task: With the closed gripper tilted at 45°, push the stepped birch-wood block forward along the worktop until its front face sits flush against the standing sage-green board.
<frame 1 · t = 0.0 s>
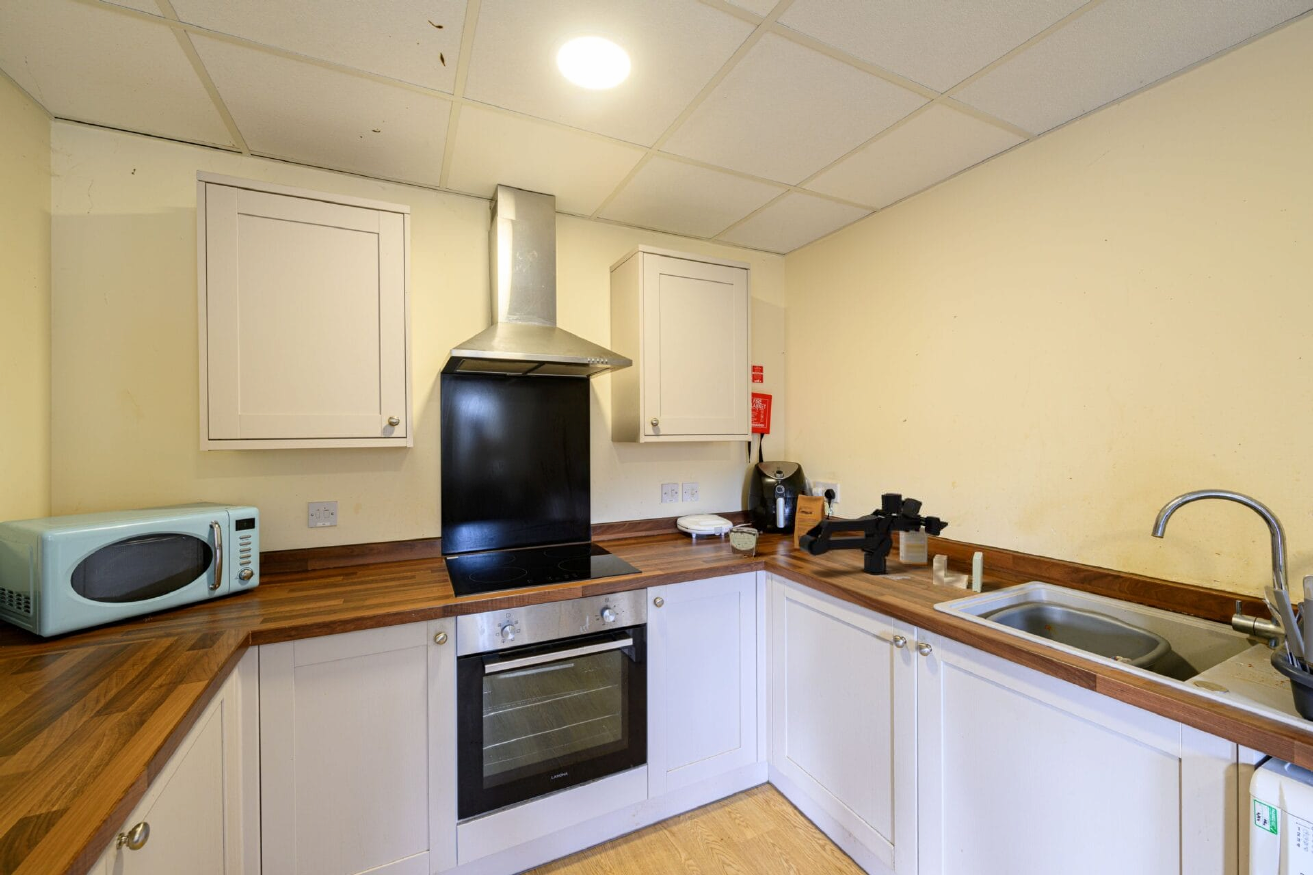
hand: (937, 521, 186), 17 cm above the worktop, tool horizontal, fingers open, 9 cm apart
food container: (745, 554, 206), on the worktop
stepped block: (950, 583, 168), on the worktop
supplement box: (913, 563, 194), on the worktop
coffee package: (809, 548, 217), on the worktop
board: (977, 587, 164), on the worktop
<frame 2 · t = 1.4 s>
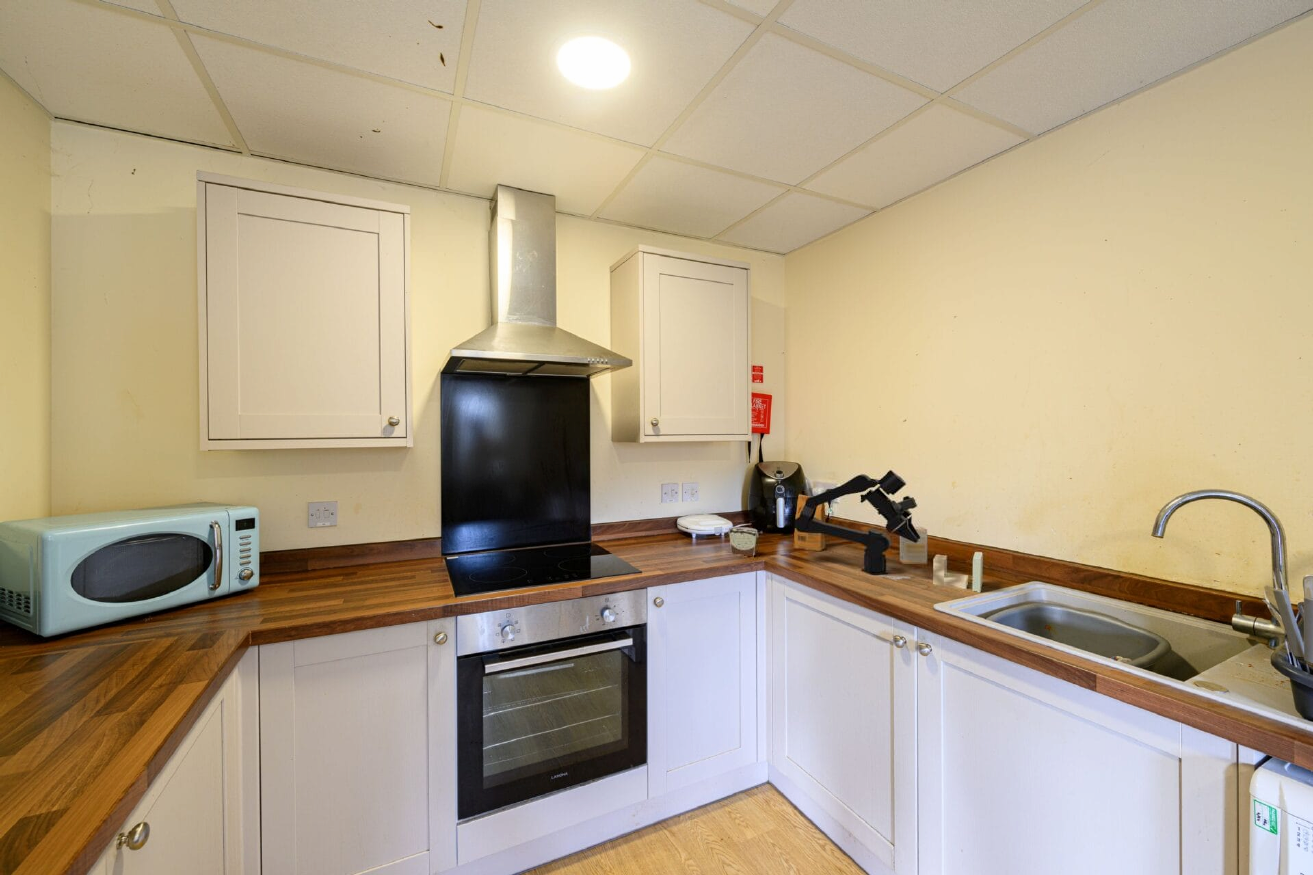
hand: (918, 540, 173), 13 cm above the worktop, tool tilted 45°, fingers open, 6 cm apart
nothing on the worktop moved.
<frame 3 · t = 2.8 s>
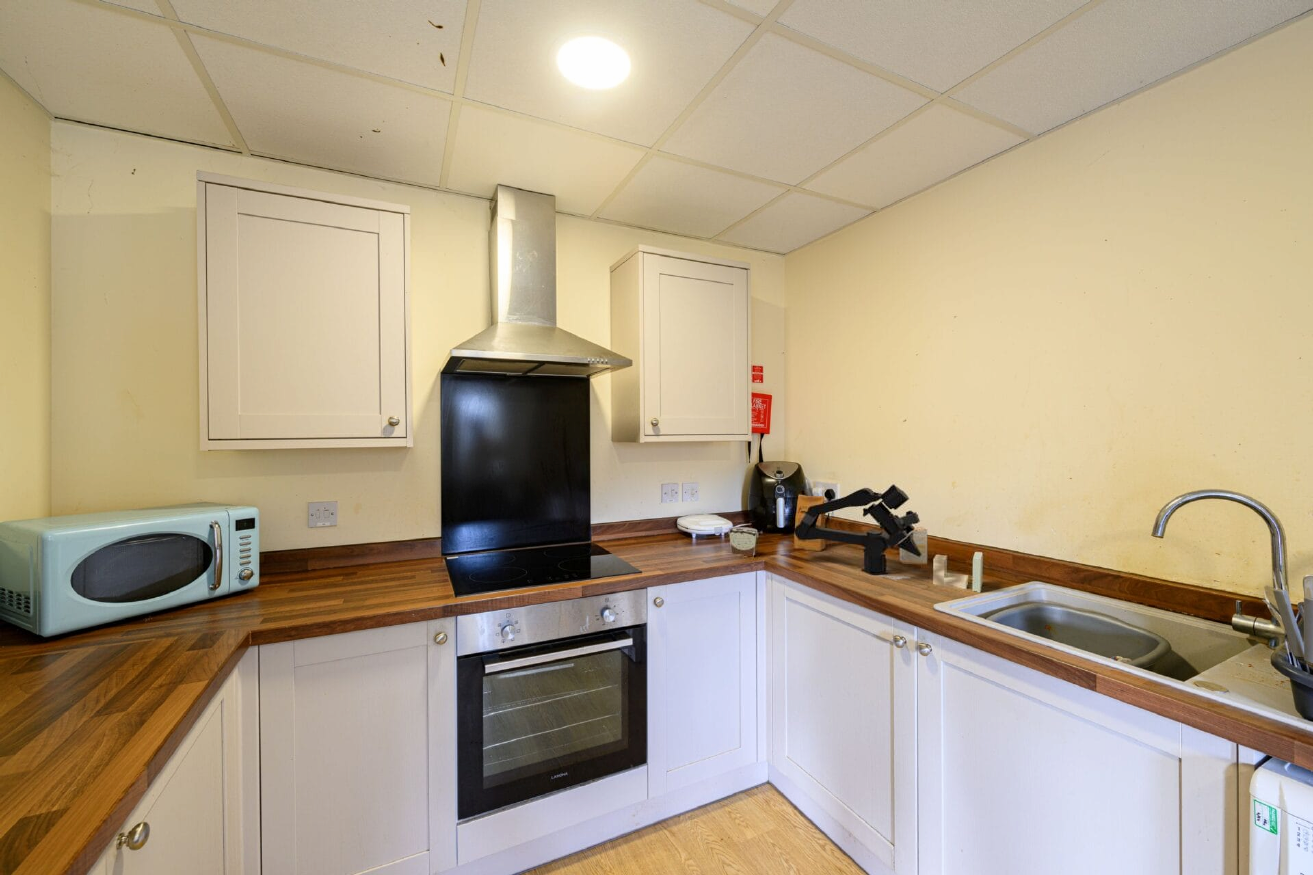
hand: (920, 555, 173), 8 cm above the worktop, tool tilted 45°, fingers closed
nothing on the worktop moved.
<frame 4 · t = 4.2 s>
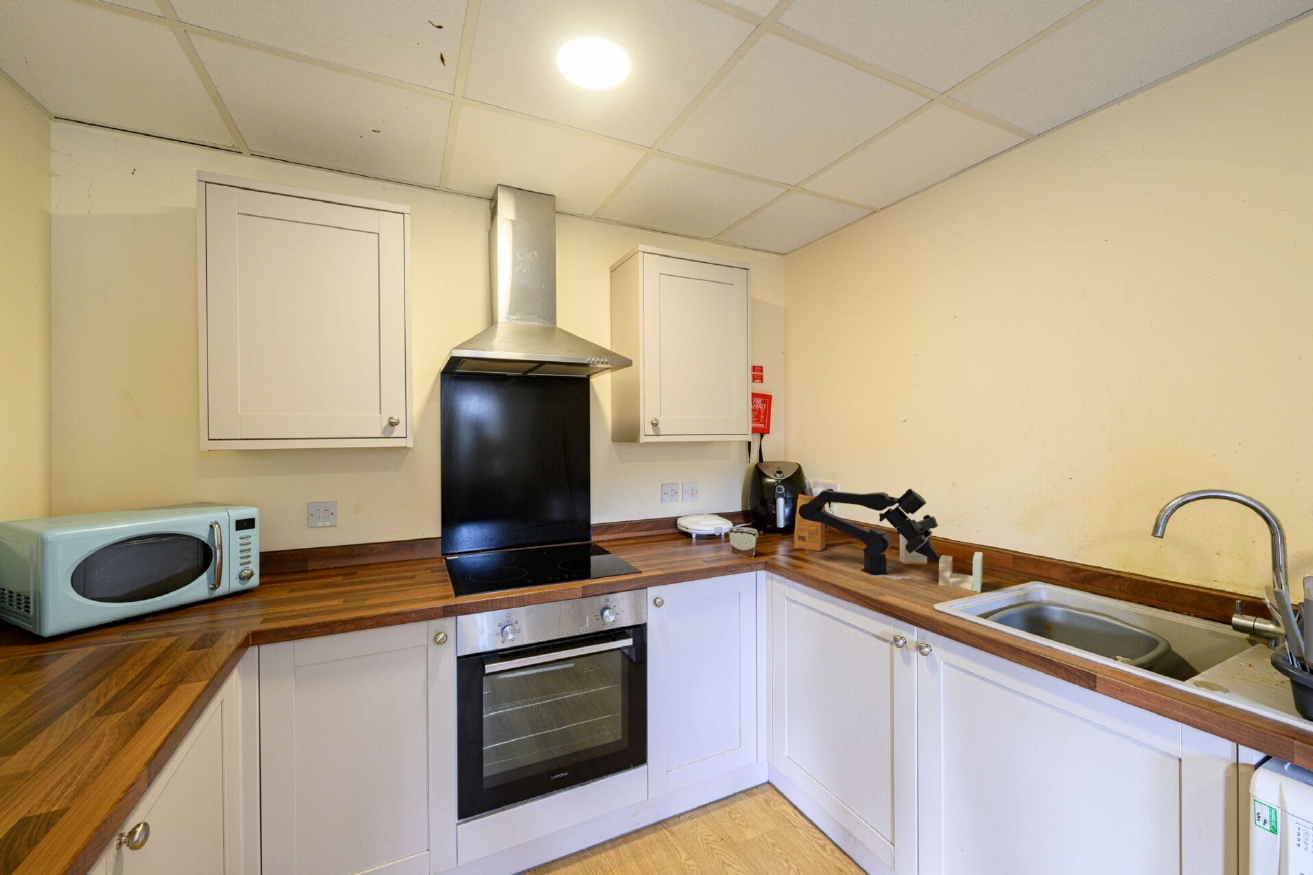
hand: (939, 560, 169), 7 cm above the worktop, tool tilted 45°, fingers closed, pressing on stepped block
stepped block: (956, 584, 167), on the worktop, touching gripper
everything else where it was.
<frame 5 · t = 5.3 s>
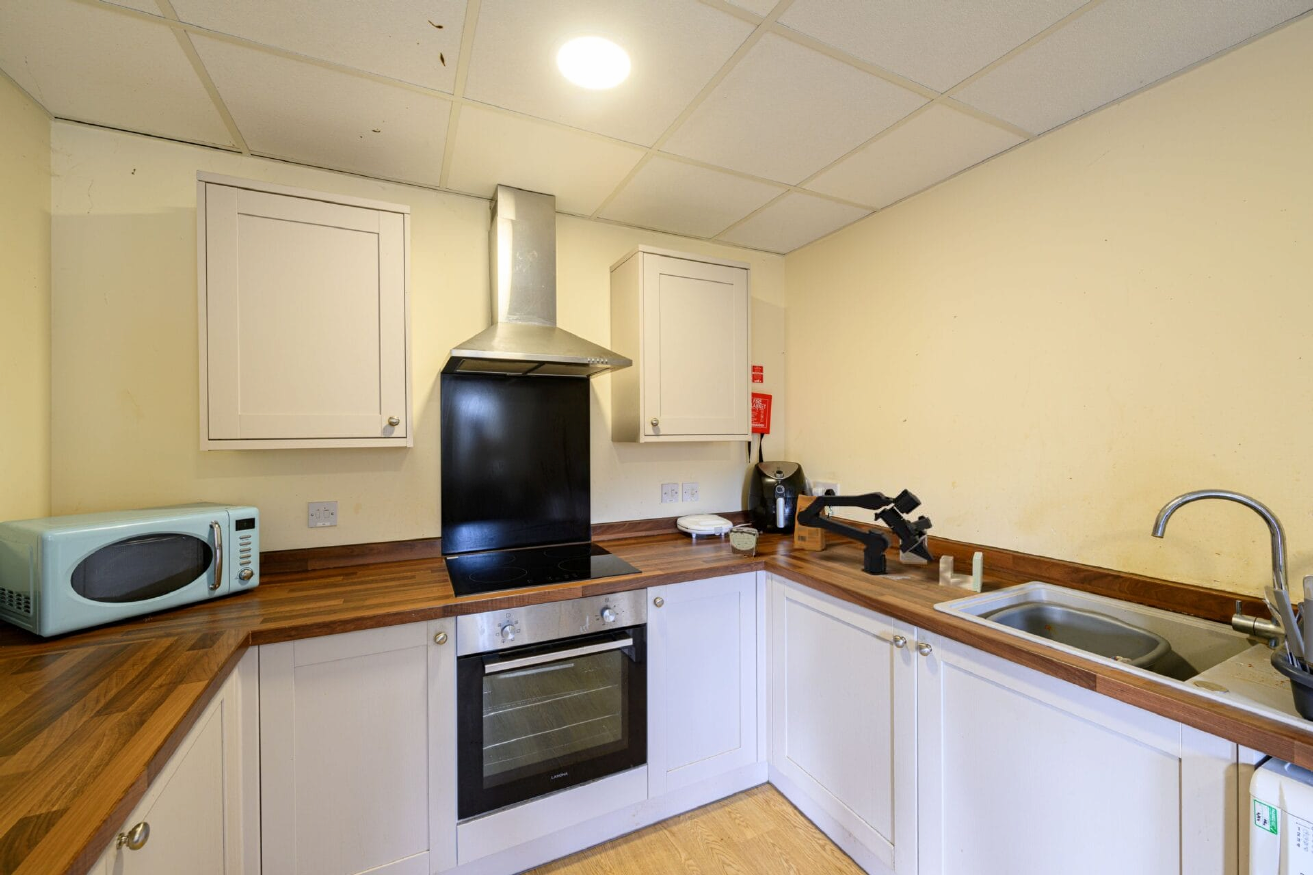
hand: (932, 561, 171), 6 cm above the worktop, tool tilted 45°, fingers closed
stepped block: (957, 584, 167), on the worktop
everything else where it was.
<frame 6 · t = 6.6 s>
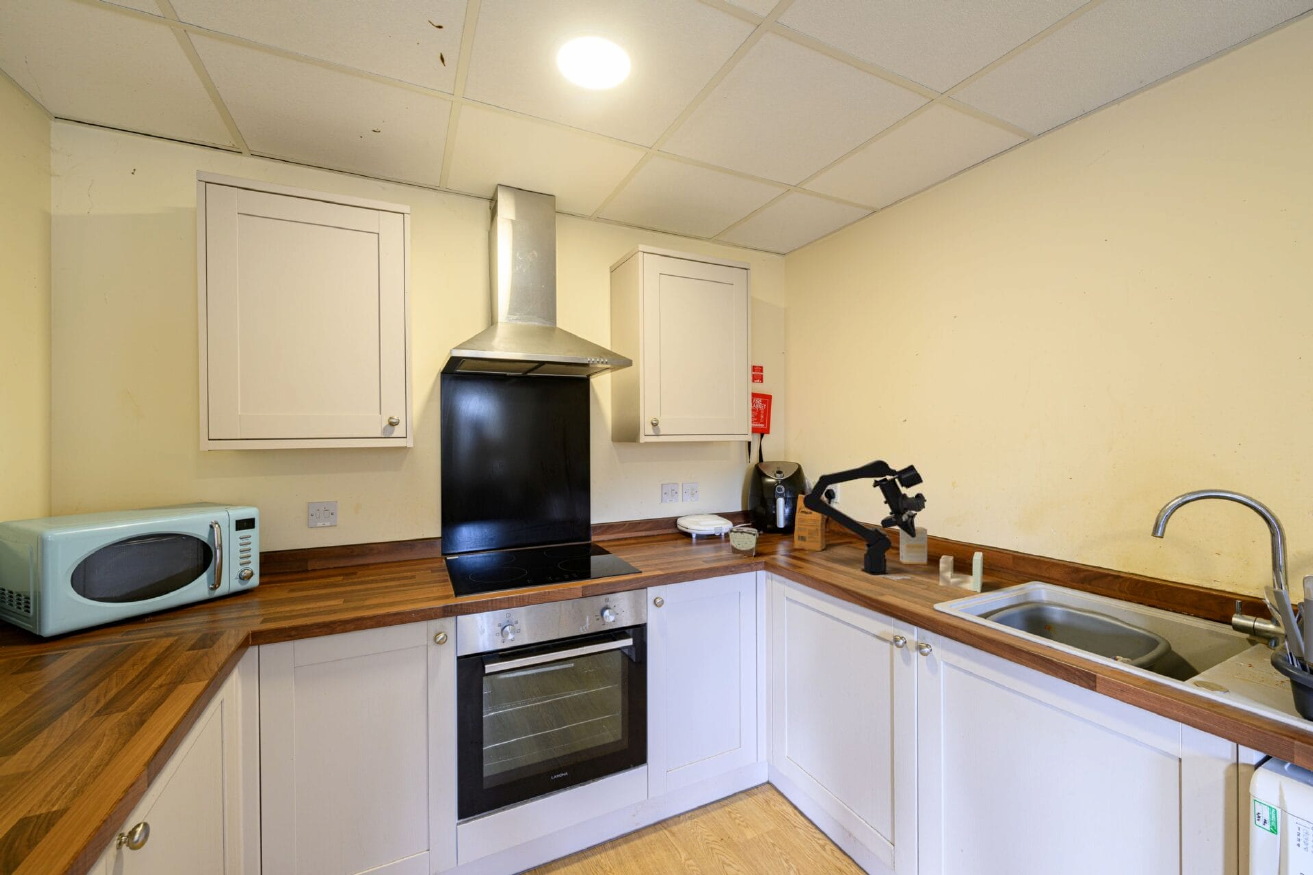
hand: (914, 537, 177), 13 cm above the worktop, tool tilted 25°, fingers closed
nothing on the worktop moved.
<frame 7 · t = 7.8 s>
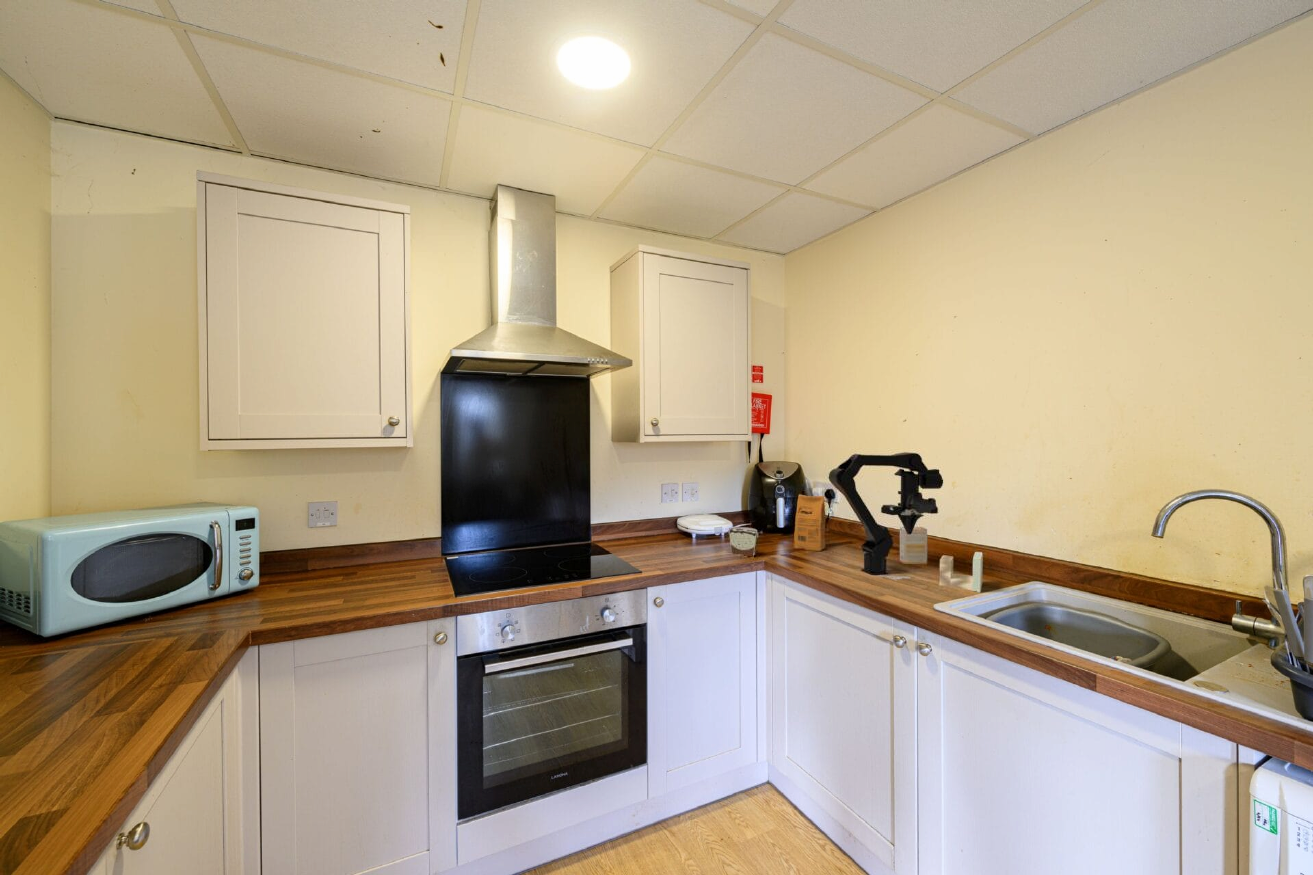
hand: (909, 534, 181), 13 cm above the worktop, tool pointing down, fingers closed
nothing on the worktop moved.
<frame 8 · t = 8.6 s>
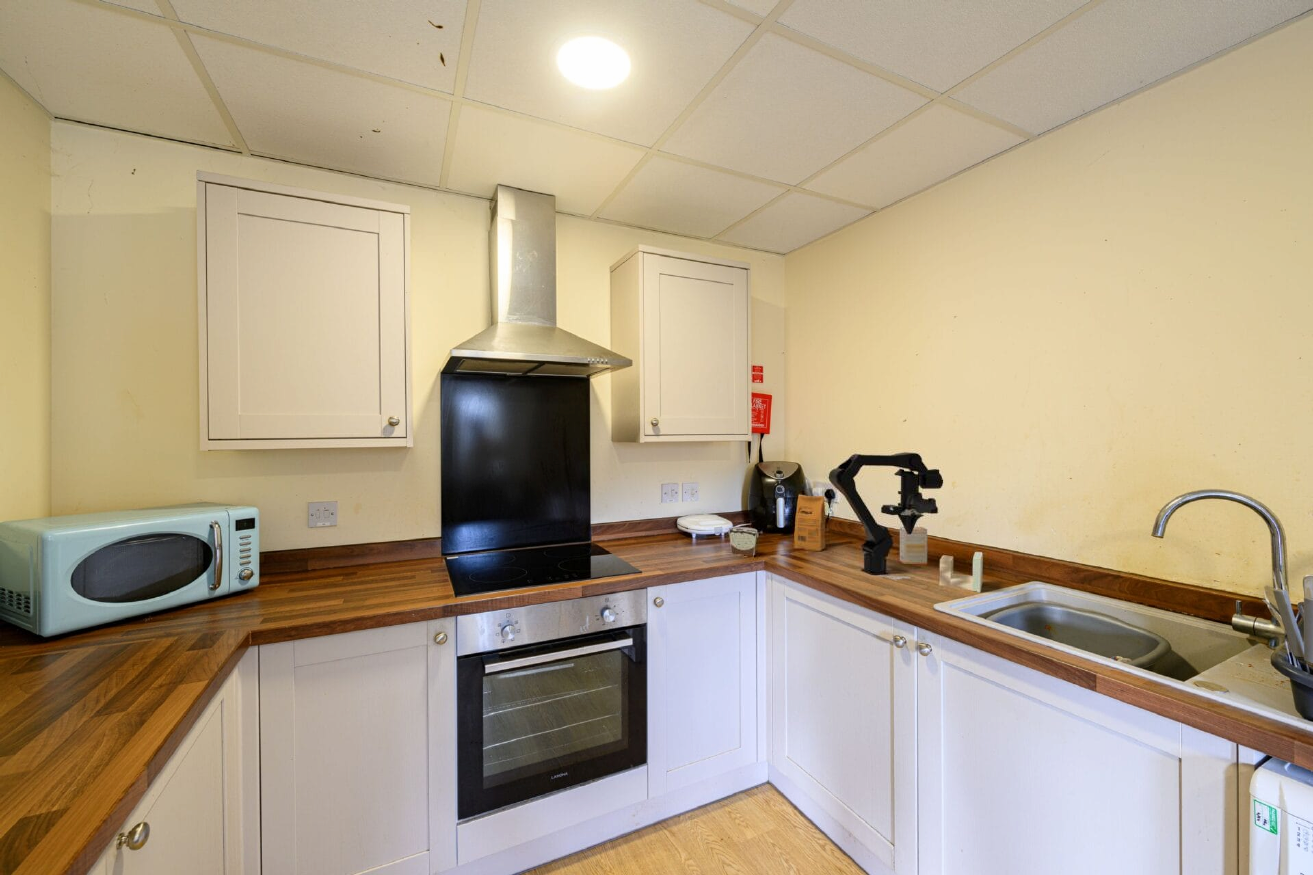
hand: (909, 534, 181), 13 cm above the worktop, tool pointing down, fingers closed
nothing on the worktop moved.
at the end: stepped block 5.5 cm from the board (horizontally); stepped block 0.0 cm from the target spot on the worktop beside the board, on the worktop; stepped block tilted 0° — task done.
